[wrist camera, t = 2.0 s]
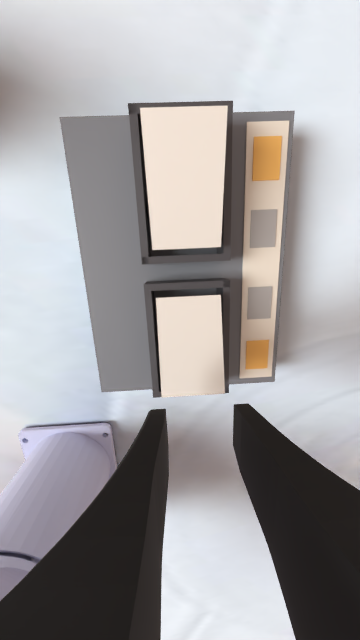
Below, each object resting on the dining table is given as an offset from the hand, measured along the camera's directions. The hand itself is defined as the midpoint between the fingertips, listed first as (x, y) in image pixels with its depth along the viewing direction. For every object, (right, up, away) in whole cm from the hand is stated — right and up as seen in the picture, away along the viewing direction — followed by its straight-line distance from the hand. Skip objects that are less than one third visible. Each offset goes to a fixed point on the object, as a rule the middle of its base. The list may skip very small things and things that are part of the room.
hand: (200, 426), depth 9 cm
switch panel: (-1, +8, +7) cm, 11 cm away
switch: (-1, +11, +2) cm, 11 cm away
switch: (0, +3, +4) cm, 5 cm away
